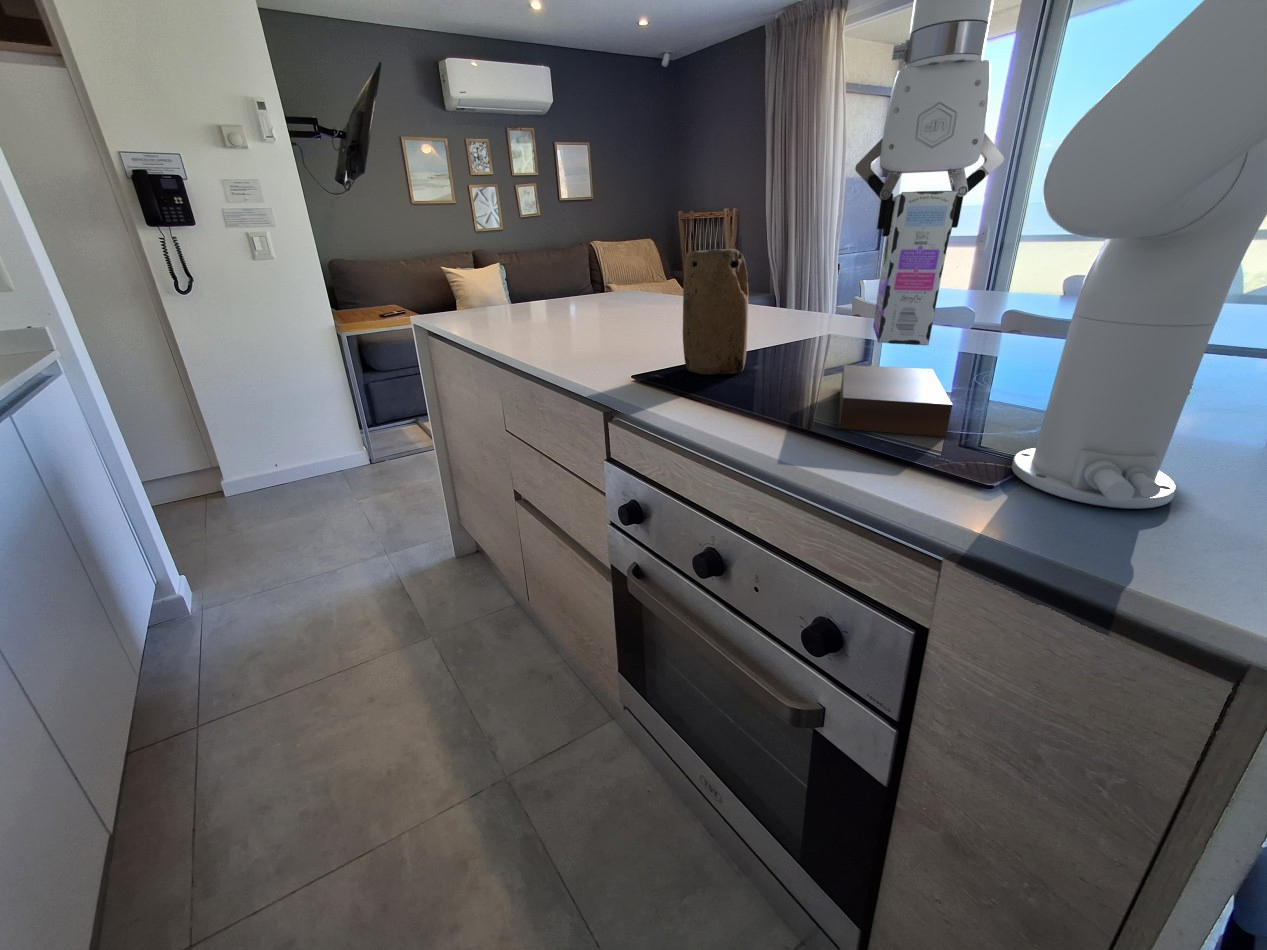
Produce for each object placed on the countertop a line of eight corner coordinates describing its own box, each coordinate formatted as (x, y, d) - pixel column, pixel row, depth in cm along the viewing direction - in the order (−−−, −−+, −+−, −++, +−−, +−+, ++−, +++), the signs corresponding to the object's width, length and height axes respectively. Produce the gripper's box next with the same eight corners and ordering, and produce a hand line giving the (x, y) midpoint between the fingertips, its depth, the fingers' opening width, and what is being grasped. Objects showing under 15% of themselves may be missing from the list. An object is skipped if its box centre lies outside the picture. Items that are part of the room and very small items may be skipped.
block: (679, 374, 98) (680, 250, 90) (689, 364, 105) (691, 248, 97) (742, 378, 95) (749, 249, 87) (748, 367, 102) (755, 247, 93)
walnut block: (945, 437, 68) (952, 404, 66) (839, 428, 71) (843, 397, 70) (927, 395, 83) (932, 368, 81) (840, 390, 87) (843, 364, 85)
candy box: (930, 347, 66) (960, 188, 59) (875, 344, 68) (899, 190, 61) (917, 327, 78) (941, 193, 71) (871, 325, 80) (890, 194, 73)
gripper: (859, 53, 60) (838, 237, 68) (1049, 33, 55) (1004, 235, 62) (858, 69, 67) (839, 236, 74) (1027, 52, 62) (989, 233, 69)
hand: (915, 233), depth 68 cm, fingers closed on candy box, 5 cm apart
